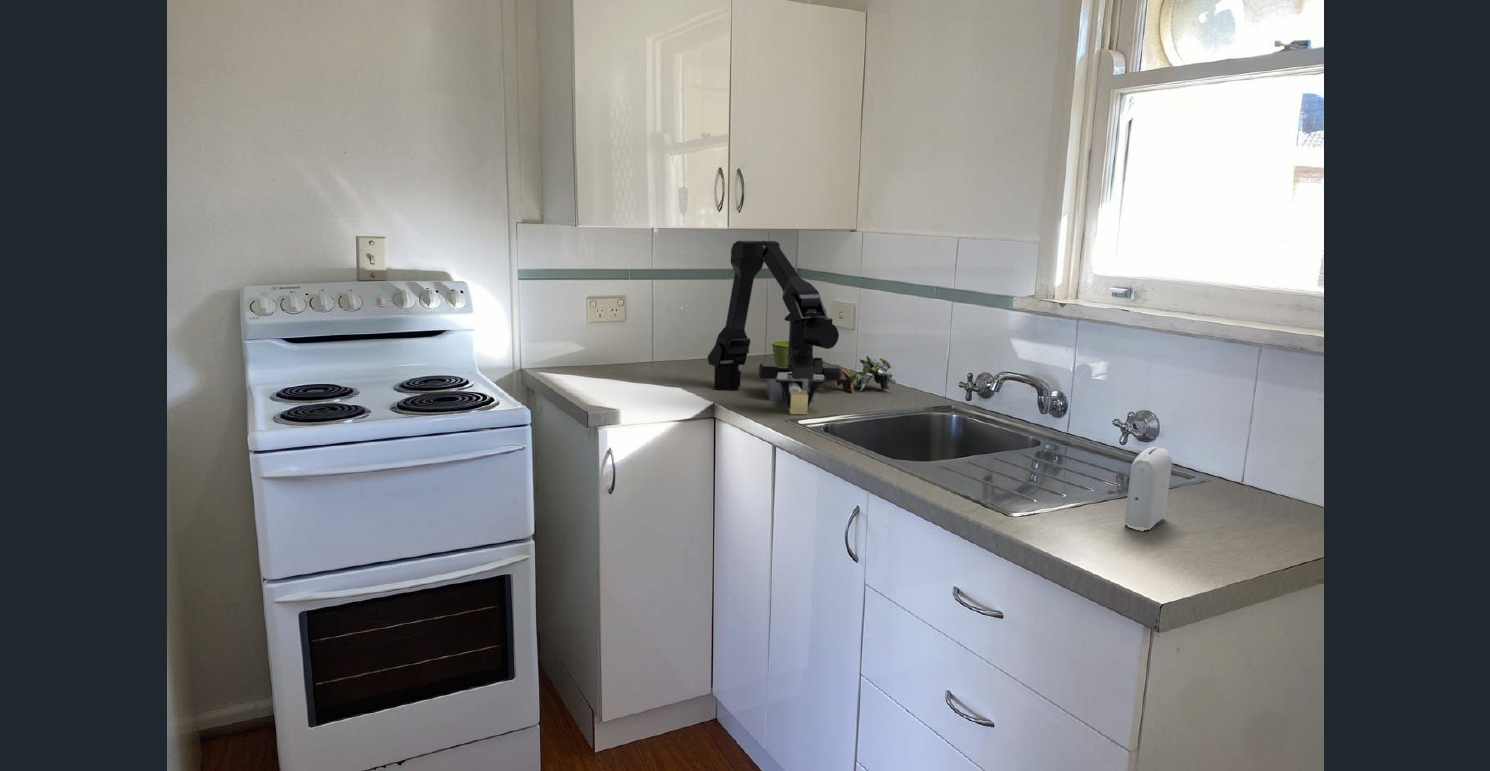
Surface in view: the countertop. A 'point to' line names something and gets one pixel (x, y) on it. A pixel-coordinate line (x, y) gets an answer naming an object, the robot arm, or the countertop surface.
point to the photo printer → (1148, 488)
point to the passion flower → (873, 373)
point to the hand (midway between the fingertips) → (797, 407)
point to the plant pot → (780, 352)
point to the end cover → (797, 399)
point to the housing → (776, 389)
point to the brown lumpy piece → (844, 380)
